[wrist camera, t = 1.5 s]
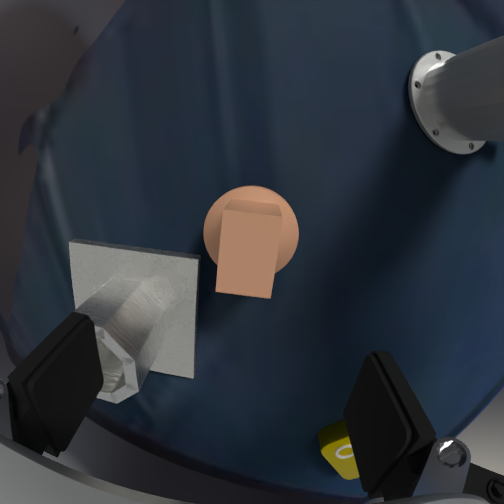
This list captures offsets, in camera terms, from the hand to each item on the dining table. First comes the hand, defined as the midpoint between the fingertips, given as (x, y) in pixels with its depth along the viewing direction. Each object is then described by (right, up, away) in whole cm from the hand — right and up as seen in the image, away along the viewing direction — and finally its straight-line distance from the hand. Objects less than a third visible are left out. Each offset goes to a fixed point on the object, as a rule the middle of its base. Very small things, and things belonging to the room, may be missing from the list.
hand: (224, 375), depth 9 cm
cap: (+1, +7, +22) cm, 23 cm away
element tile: (+21, -26, +32) cm, 46 cm away
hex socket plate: (-13, -3, +25) cm, 29 cm away
